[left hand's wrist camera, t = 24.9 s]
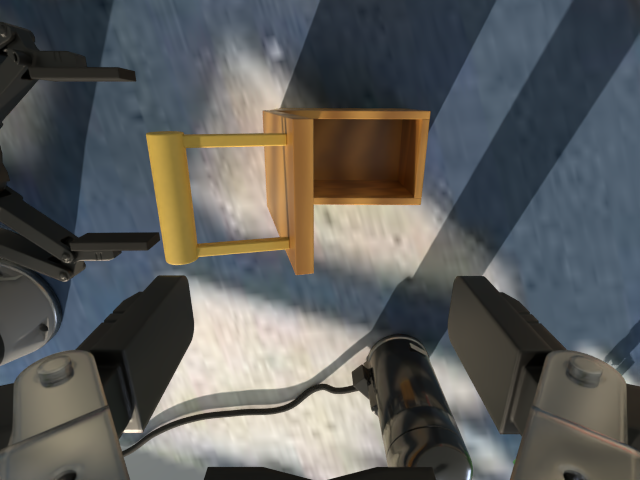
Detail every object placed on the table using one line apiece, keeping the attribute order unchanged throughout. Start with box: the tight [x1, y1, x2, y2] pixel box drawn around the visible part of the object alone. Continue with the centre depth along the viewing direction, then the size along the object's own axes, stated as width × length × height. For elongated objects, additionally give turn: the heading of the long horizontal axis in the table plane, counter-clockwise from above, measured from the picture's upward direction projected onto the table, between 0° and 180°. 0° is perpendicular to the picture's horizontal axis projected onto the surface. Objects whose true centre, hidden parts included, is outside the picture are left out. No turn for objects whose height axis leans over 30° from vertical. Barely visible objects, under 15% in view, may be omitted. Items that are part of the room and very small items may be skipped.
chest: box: [270, 108, 430, 205], centre depth 43 cm, size 16×10×10 cm, turn 90°
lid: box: [146, 111, 314, 275], centre depth 29 cm, size 17×10×9 cm
